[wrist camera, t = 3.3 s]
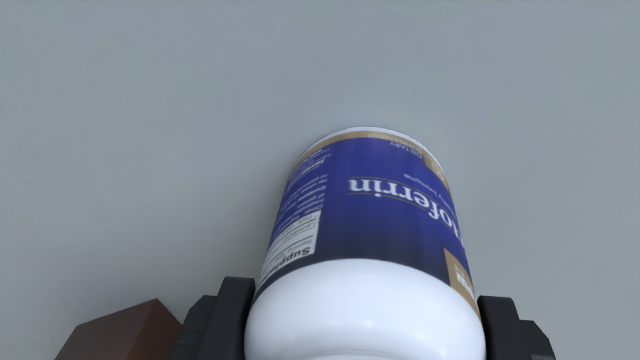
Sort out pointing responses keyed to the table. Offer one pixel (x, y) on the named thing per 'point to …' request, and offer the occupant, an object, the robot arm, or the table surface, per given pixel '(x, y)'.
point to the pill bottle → (365, 259)
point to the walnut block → (125, 335)
